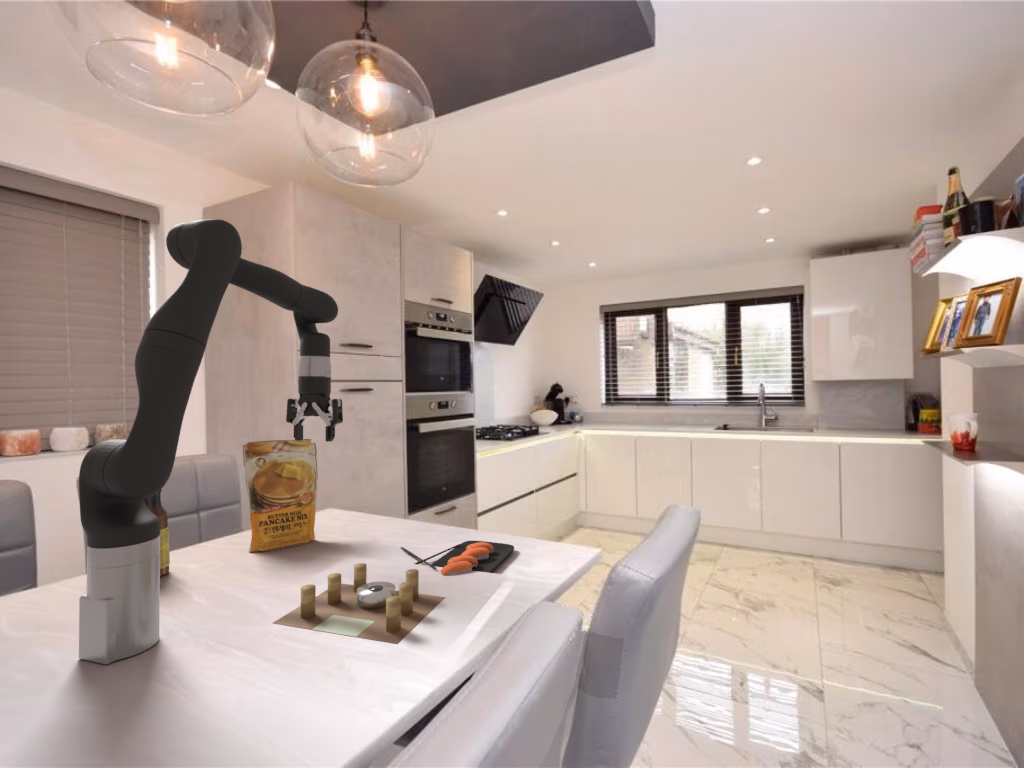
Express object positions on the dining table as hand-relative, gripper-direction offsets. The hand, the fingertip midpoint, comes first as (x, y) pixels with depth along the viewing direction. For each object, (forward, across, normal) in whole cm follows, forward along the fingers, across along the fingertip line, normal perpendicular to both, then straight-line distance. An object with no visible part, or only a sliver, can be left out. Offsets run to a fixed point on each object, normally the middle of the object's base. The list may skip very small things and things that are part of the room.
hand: (314, 440), depth 121 cm
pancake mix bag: (+29, -14, +7) cm, 33 cm away
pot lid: (+28, +29, -22) cm, 46 cm away
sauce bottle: (+29, -28, -18) cm, 44 cm away
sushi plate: (+30, +31, +4) cm, 43 cm away
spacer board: (+29, +29, -26) cm, 48 cm away
